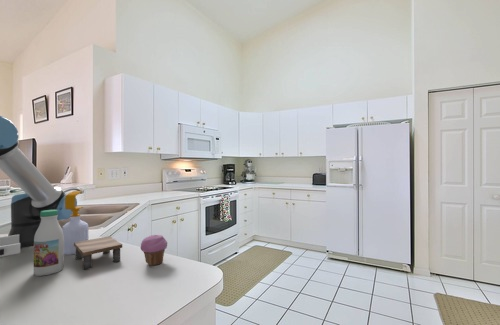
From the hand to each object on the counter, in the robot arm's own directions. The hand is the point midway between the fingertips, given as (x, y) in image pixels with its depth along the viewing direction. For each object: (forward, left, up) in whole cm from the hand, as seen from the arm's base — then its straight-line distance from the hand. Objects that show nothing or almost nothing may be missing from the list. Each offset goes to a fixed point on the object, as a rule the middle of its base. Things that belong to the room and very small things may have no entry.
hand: (20, 243), depth 76 cm
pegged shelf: (0, +21, -11) cm, 24 cm away
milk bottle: (0, +7, -11) cm, 13 cm away
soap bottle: (-18, +17, -11) cm, 27 cm away
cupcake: (+19, +34, -11) cm, 40 cm away
